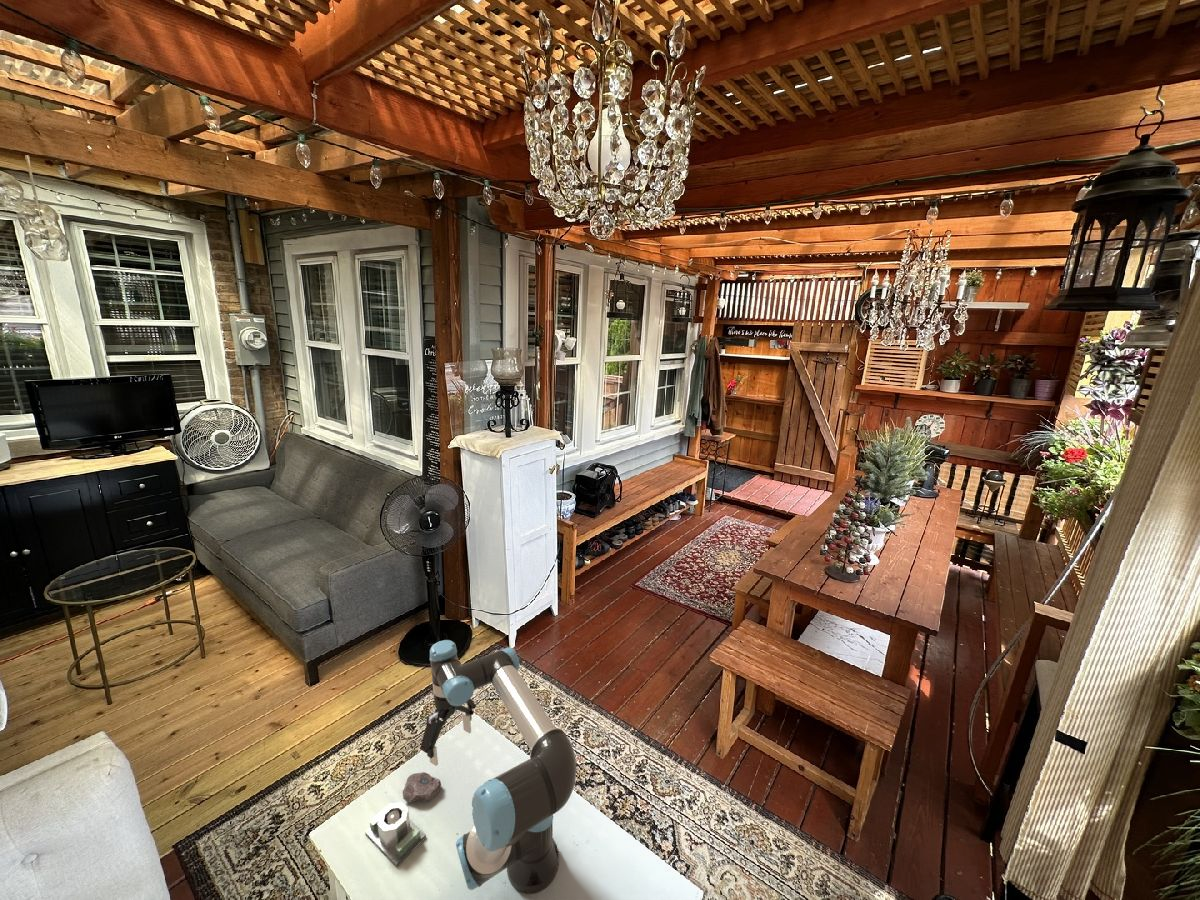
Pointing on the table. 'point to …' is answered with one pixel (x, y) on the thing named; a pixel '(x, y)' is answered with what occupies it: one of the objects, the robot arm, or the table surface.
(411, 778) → the rock
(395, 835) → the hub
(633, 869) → the table surface
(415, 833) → the stand
